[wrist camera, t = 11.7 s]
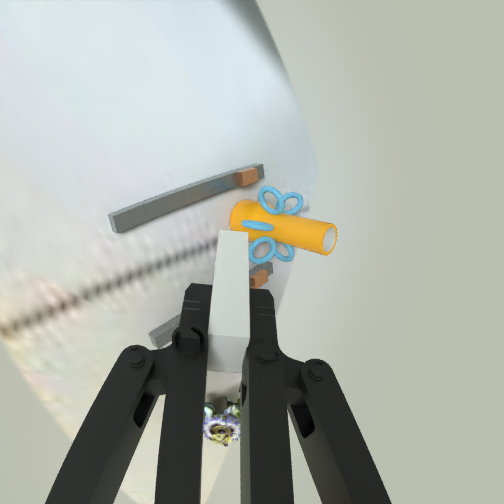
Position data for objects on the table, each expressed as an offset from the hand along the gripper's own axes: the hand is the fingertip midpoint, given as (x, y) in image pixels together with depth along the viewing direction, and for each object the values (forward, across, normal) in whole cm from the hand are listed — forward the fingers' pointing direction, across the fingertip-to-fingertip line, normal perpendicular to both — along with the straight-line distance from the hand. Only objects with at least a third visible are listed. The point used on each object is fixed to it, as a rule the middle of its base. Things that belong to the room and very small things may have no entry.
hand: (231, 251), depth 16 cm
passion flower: (+9, 0, -46) cm, 47 cm away
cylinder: (+26, +2, -14) cm, 30 cm away
